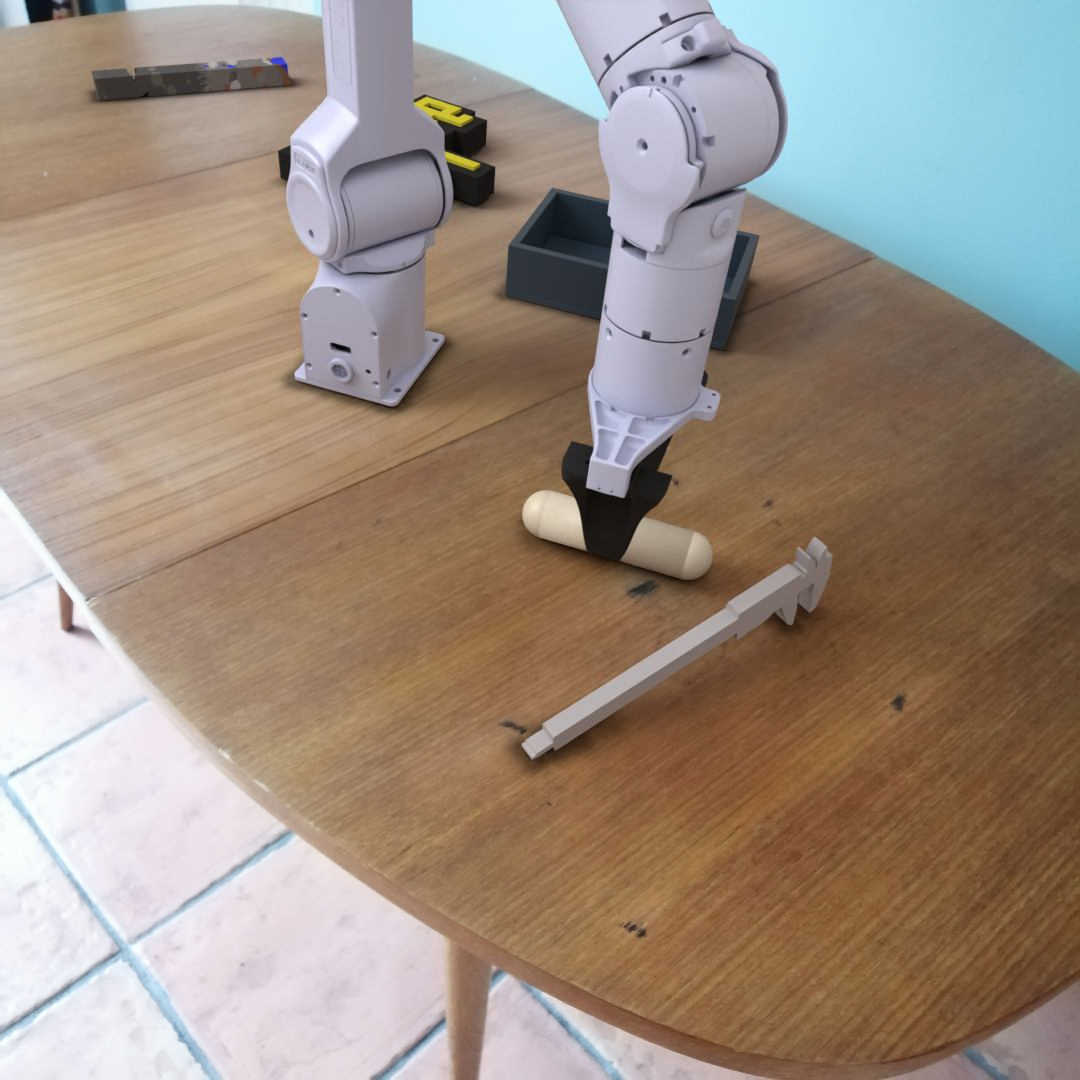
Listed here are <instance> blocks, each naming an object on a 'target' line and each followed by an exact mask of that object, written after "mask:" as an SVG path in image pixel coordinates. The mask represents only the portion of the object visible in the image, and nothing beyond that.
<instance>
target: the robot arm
mask: <svg viewBox="0 0 1080 1080" xmlns="http://www.w3.org/2000/svg"><path fill="white" fill-rule="evenodd" d="M555 2H556V4H557V5H558V8H559V10H560V11H561V14H562V16H563V18H564V20H565V22H566V24H567V26H568V28H569V30H570V33H571V35H572V37H573V39H574V41H575V43H576V45H577V47H578V49H579V51H580V53H581V55H582V57H583V59H584V61H585V63H586V65H587V68H588V69H589V71H590V74H591V76H592V78H593V80H594V82H595V84H596V86H597V88H598V90H599V93H600V95H601V97H602V99H603V101H604V102H605V105H606V107H607V109H608V111H609V113H608V115H607V116H606V117H605V119H604V118H600V119H599V120H598V131H597V132H598V135H597V136H598V146H599V154H600V159H601V162H602V165H603V168H604V172H605V174H606V177H607V181H608V186H609V199H608V200H609V207H608V214H607V215H608V216H610V217H611V227H612V229H613V230H614V232H613V239H612V246H611V253H610V260H609V267H608V274H607V281H606V288H605V295H604V302H603V309H602V315H601V320H600V322H599V329H598V337H597V342H596V343H597V344H596V350H595V357H594V363H593V367H592V368H591V370H590V372H589V374H588V380H587V388H586V389H587V400H588V409H589V418H590V425H591V426H590V428H591V436H592V445H589V444H585V443H581V442H577V441H575V440H571V441H570V443H569V445H568V447H567V449H566V451H565V453H564V455H563V457H562V460H561V469H560V471H561V478H562V481H563V482H564V483H565V484H566V486H567V487H568V489H569V490H570V492H571V494H572V497H574V498H575V500H576V502H577V505H578V508H579V512H580V518H581V524H582V531H583V537H584V542H585V547H586V550H587V551H586V552H587V553H590V554H593V555H596V556H599V557H603V558H607V559H610V560H613V561H617V562H620V561H619V560H621V558H622V557H623V556H624V554H625V553H626V551H627V549H628V547H629V545H630V543H631V540H632V538H633V536H634V533H635V531H636V529H637V527H638V525H639V523H640V522H641V520H642V519H643V517H646V515H647V514H648V513H650V511H651V510H653V509H655V508H656V507H657V506H659V504H660V503H661V502H662V501H663V499H664V498H665V496H666V495H667V493H668V490H669V487H670V484H671V482H672V479H673V476H674V475H673V474H669V473H666V472H662V471H659V468H660V466H661V464H662V462H663V459H664V457H665V455H666V452H667V450H668V447H669V445H670V443H671V440H672V438H673V436H674V434H675V433H676V432H678V430H680V429H681V428H683V426H685V425H686V424H688V422H689V421H691V420H699V421H703V422H711V421H713V420H714V419H715V418H716V415H717V412H718V409H719V406H720V402H721V399H722V397H721V394H720V393H719V392H718V391H717V390H714V389H711V388H707V384H708V380H709V375H708V372H707V371H706V370H705V368H706V364H707V360H708V357H709V352H710V348H711V347H710V343H711V339H712V335H713V331H714V327H715V322H716V319H717V314H718V310H719V306H720V302H721V298H722V293H723V289H724V285H725V281H726V276H727V272H728V268H729V264H730V259H731V255H732V251H733V247H734V243H735V238H736V234H737V230H738V229H739V226H740V221H741V218H742V217H741V216H742V213H743V209H744V204H745V200H746V196H747V192H748V189H747V188H746V187H742V186H744V185H747V184H749V183H750V182H753V181H754V180H756V179H757V178H760V177H762V176H763V175H765V173H767V172H769V170H770V169H772V167H773V166H774V165H775V163H776V162H777V161H778V159H779V158H780V156H781V154H782V152H783V148H784V147H785V144H786V139H787V134H788V127H789V111H788V104H787V98H786V95H785V92H784V89H783V86H782V84H781V80H780V75H779V71H778V68H777V66H776V65H775V64H774V63H773V62H772V60H771V59H770V58H768V57H767V56H766V54H764V53H762V52H761V51H760V50H758V49H756V48H754V47H752V46H750V45H746V44H744V43H742V42H741V41H740V40H739V39H738V37H737V36H736V35H735V33H734V30H733V29H732V28H728V29H727V26H726V25H724V24H723V25H722V23H721V21H720V19H718V17H717V16H716V14H715V12H714V9H713V7H712V5H711V3H710V2H709V0H555ZM320 4H321V18H322V20H321V21H322V34H323V47H324V49H323V50H324V64H325V76H326V77H325V79H326V91H327V95H326V97H325V98H324V100H323V101H322V102H321V103H320V104H319V105H318V106H317V107H316V108H315V110H313V111H312V112H311V114H310V115H309V116H308V117H307V118H305V120H304V121H303V122H302V123H301V124H300V125H299V126H298V127H297V128H296V130H295V131H294V132H293V133H292V135H291V136H290V138H289V145H291V168H290V174H289V178H288V181H286V182H287V184H286V189H285V197H286V198H285V199H286V200H285V201H286V206H287V211H288V212H287V213H288V215H289V218H290V221H291V224H292V227H293V229H294V231H295V233H296V235H297V237H298V239H299V240H300V242H301V244H302V245H303V246H304V247H305V249H306V250H308V251H309V253H311V254H312V255H313V256H315V257H316V258H317V259H318V260H319V261H318V267H317V272H316V275H315V277H314V279H313V281H312V284H311V285H310V286H309V288H308V290H307V291H306V292H305V293H304V295H303V297H302V299H301V302H300V306H299V319H300V321H299V322H300V330H301V331H300V332H301V340H302V341H301V342H302V351H303V353H302V354H303V362H302V364H301V365H300V366H299V367H298V368H297V369H296V370H295V371H294V379H295V380H296V381H298V382H301V383H305V384H308V385H312V386H315V387H317V388H323V389H326V390H329V391H333V392H336V393H340V394H344V395H349V396H351V397H355V398H359V399H362V400H365V401H370V402H374V403H377V404H381V405H384V406H387V407H396V406H398V405H399V404H400V402H401V401H402V399H403V398H404V397H405V396H406V394H407V393H408V391H410V389H411V388H412V386H413V385H414V383H415V382H416V381H417V380H418V379H419V377H420V375H421V374H422V373H423V372H424V370H425V369H426V368H427V366H428V365H429V364H430V362H431V361H432V360H433V358H434V357H435V355H437V353H438V351H440V349H441V348H442V346H443V344H444V343H445V340H446V339H445V338H446V337H445V335H443V334H442V333H438V332H434V331H430V330H428V329H427V330H426V275H427V274H426V273H427V272H426V267H427V266H426V262H427V261H426V258H427V257H426V256H427V255H426V252H427V250H428V249H429V248H431V247H434V246H435V243H436V242H435V241H436V230H438V229H441V228H442V227H444V226H445V225H446V223H447V222H448V221H449V219H450V217H451V214H452V210H453V204H454V203H453V202H454V197H453V185H452V179H451V175H450V172H449V169H448V166H447V162H446V156H445V149H444V131H443V129H442V128H441V127H440V126H439V125H438V123H437V122H436V121H435V120H434V119H433V118H431V117H430V116H429V115H428V114H427V113H426V112H424V111H423V110H421V109H420V108H418V107H417V106H416V105H414V99H415V97H414V91H415V90H414V26H413V25H414V24H413V23H414V22H413V21H414V18H413V15H414V14H413V0H320ZM739 187H742V188H739Z"/></svg>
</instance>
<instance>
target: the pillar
mask: <svg viewBox="0 0 1080 1080" xmlns="http://www.w3.org/2000/svg"><path fill="white" fill-rule="evenodd" d="M133 70H134V74H135V75H132V74H131V73H130V72H129V71H128V69H127V68H125V67H124V68H111V69H98V70H90V71H91V76H92V80H93V85H94V90H95V95H96V96H97V100H98V101H112V100H124V99H136V98H142V97H143V96H147V97H160V96H171V95H172V96H173V95H174V96H175V95H183V94H185V95H187V94H198V93H207V92H208V93H209V92H210V93H211V92H221V91H231V90H232V91H234V90H243V89H244V90H245V89H256V88H257V89H258V88H269V87H279V86H282V87H283V86H291V85H292V83H291V82H292V79H291V77H290V76H289V68H288V63H287V62H286V60H285V59H284V58H283V57H282V56H279V57H265V58H264V57H263V58H250V59H237V60H236V59H235V60H221V61H209V62H197V63H195V62H194V63H181V64H166V65H154V66H153V65H152V66H139V67H134V68H133Z"/></svg>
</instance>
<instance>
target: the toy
mask: <svg viewBox="0 0 1080 1080" xmlns="http://www.w3.org/2000/svg"><path fill="white" fill-rule="evenodd" d="M414 105H416V106H417V107H418V108H420V109H421V110H423V111H424V112H426V113H427V114H428V115H429V116H430V117H431V118H433V119H434V120H435V121H436V122H437V123H438V125H439V126H440V127H441V128H442V129H443V131H444V149H445V156H446V162H447V166H448V169H449V172H450V175H451V179H452V185H453V199H454V198H455V199H457V200H460V201H462V202H466V203H468V204H471V205H474V206H478V204H480V203H482V202H483V201H485V200H486V199H488V198H489V197H491V196H492V195H495V187H496V185H495V183H496V169H497V168H496V166H495V165H492V164H489V163H487V162H484V161H481V160H478V159H475V158H472V157H471V155H473V154H475V153H477V152H478V151H480V150H482V149H483V148H485V147H486V146H487V137H488V135H487V133H488V120H487V119H485V118H483V117H479V116H476V111H475V110H474V109H470V108H467V107H464V106H462V105H458V104H455V103H451V102H449V101H446V100H443V99H439V98H436V97H434V96H431V95H427V94H421V95H420V96H418V97H416V98H414ZM277 155H278V166H279V175H280V179H281V180H283V181H285V182H288V178H289V174H290V168H291V145H290V144H289V145H287V146H286V147H283V148H281V149H279V150H277Z"/></svg>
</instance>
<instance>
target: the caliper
mask: <svg viewBox="0 0 1080 1080" xmlns="http://www.w3.org/2000/svg"><path fill="white" fill-rule="evenodd" d="M832 563H833V554H832V553H831V552H830V551H829V550H828V546H827V545H826V544H824V543H823V542H822V541H821V540H820V539H819V538H818V537H816V536H813V538H812V539H811V540H810V541H809V543H808V545H807V547H806V549H805V550H804V549H802V548H801V547H800V546H797V548H796V552H795V561H794V562H793V564H790V563H786V564H785V565H783V566H781V567H780V568H779V569H777V570H776V571H774V572H772V573H771V574H769V575H768V576H766V577H765V578H763V579H761V580H759V581H758V582H757V583H755V584H754V585H752V586H750V587H749V588H748V589H746V590H744V591H743V592H741V593H739V594H738V595H737V596H735V597H734V598H732V599H731V600H729V601H728V602H727V603H726V605H725V608H723V609H721V610H720V611H718V612H716V613H715V614H713V615H711V616H710V617H708V618H707V619H706V620H703V621H702V622H701V623H699V624H697V625H696V626H694V627H693V628H691V629H689V630H688V631H686V632H684V634H682V635H680V636H679V637H677V638H675V639H674V640H672V641H670V642H669V643H668V644H666V645H664V646H663V647H661V648H659V649H658V650H656V651H655V652H653V653H652V654H650V655H649V656H647V657H645V658H644V659H642V660H641V661H639V662H637V663H636V664H634V665H633V666H631V667H629V668H627V669H626V670H625V671H623V672H622V673H620V674H618V675H617V676H616V677H613V678H612V679H611V680H608V681H607V682H606V683H604V684H602V685H601V686H599V687H597V689H595V690H594V691H592V692H590V693H588V694H587V695H585V696H583V697H582V698H581V699H579V700H577V701H576V702H574V703H573V704H571V705H570V706H567V707H566V708H565V709H563V710H562V711H560V712H559V713H557V714H555V715H553V716H552V717H550V719H548V720H546V721H544V722H543V723H542V729H540V730H538V731H537V732H535V733H534V734H532V735H531V736H529V737H528V738H526V739H525V741H524V742H522V743H521V747H522V748H523V750H524V751H525V752H526V754H527V756H528V757H529V758H530V759H531V760H535V759H537V758H539V757H540V756H542V755H544V754H545V753H546V752H548V751H550V750H551V749H553V750H554V751H557V750H560V749H561V748H563V747H564V746H565V745H567V744H568V743H570V742H572V741H573V740H575V739H576V738H577V737H579V736H580V735H582V734H584V733H585V732H587V731H588V730H590V729H592V728H593V727H595V726H596V725H597V724H599V723H601V722H602V721H604V720H605V719H606V718H609V717H610V716H611V715H613V714H614V713H616V712H617V711H619V710H620V709H622V708H624V707H625V706H627V705H628V704H630V703H631V702H632V701H634V700H636V699H638V698H639V697H640V696H642V695H643V694H645V693H646V692H648V691H649V690H652V689H653V688H654V687H656V686H657V685H659V684H660V683H662V682H663V681H665V680H667V679H669V678H670V677H671V676H673V675H674V674H676V673H678V672H679V671H681V670H682V669H684V668H685V667H687V666H688V665H690V664H692V663H693V662H695V661H696V660H698V659H699V658H701V657H703V656H704V655H705V654H707V653H708V652H711V650H713V649H715V648H716V647H719V645H721V644H722V643H725V642H726V641H728V640H729V639H731V638H732V637H734V639H736V640H740V639H741V638H743V637H744V636H745V635H746V634H748V633H749V632H750V631H752V630H754V629H756V628H758V627H759V626H761V625H762V624H763V623H765V621H767V620H768V619H770V617H772V616H773V615H772V614H773V613H775V614H776V615H777V617H779V618H780V619H781V620H782V621H783V622H784V623H785V624H786V625H787V626H788V625H789V626H792V625H794V622H795V617H796V614H797V611H798V610H797V609H798V604H799V605H800V606H801V607H802V608H803V609H804V610H805V611H807V612H808V613H809V614H811V613H812V611H814V610H815V608H817V607H818V604H819V602H820V600H821V597H822V595H823V593H824V590H825V588H826V585H827V582H828V580H829V578H830V576H831V569H832Z"/></svg>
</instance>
